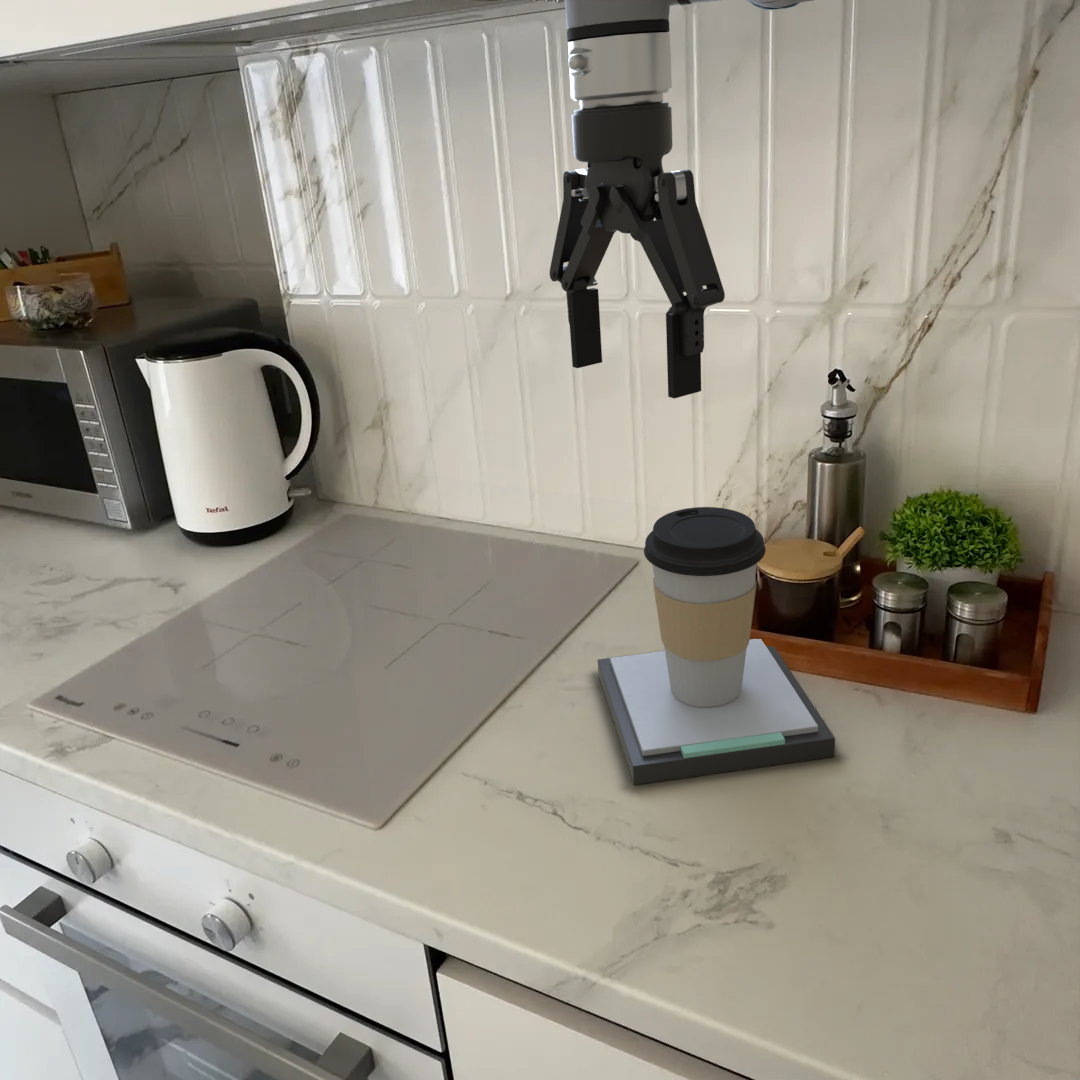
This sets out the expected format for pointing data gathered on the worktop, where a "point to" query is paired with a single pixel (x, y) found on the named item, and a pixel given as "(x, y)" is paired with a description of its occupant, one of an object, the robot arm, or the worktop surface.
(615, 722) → the kitchen scale
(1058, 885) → the worktop surface
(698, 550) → the coffee cup
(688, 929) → the worktop surface
